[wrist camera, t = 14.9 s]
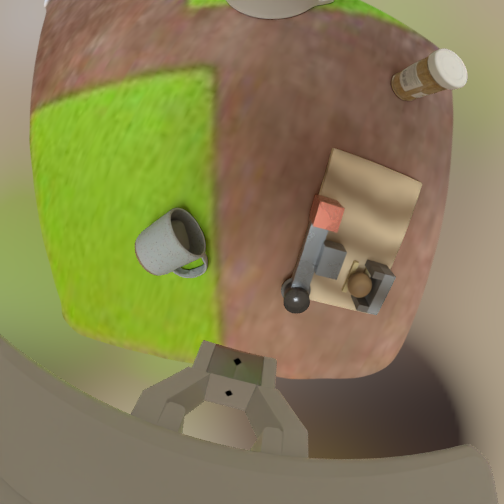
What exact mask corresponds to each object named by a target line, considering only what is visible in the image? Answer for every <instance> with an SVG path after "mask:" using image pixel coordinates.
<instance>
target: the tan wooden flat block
mask: <svg viewBox="0 0 504 504" xmlns="http://www.w3.org/2000/svg"><path fill="white" fill-rule="evenodd" d="M421 187H422V183H420V182H418V181H416V180H414V179H412V178H410V177H407V176H405V175H403V174H401V173H398V172H396V171H394V170H391V169H389V168H387V167H384V166H382V165H379V164H377V163H374V162H372V161H369V160H366V159H364V158H361V157H358V156H356V155H353V154H350V153H347V152H344V151H341V150H339V149H336V148H332V150H331V154H330V158H329V161H328V165H327V168H326V172H325V175H324V178H323V182H322V185H321V188H320V192H319V195H321V196H325V197H328V198H332V199H335V200H337V201H338V202H339V203H340V204H341V205H342V206H343V207H344V208H345V210H344V213H343V217H342V220H341V223H340V226H339V229H338V232H337V233H336V232H333V231H329V230H328V233H327V236H326V239H325V240H329V241H333V242H336V243H340V244H343V246H344V248H345V250H346V251H347V254H346V257H345V259H344V262H343V265H342V267H341V270H340V273H339V275H338V278H337V280H335V279H331V278H327V277H323V276H318V275H315V272H314V275H313V278H312V280H311V283H310V286H309V289H308V293H309V300H313V301H317V302H321V303H326V304H330V305H334V306H338V307H342V308H347V309H351V310H355V311H360V312H364V313H370V314H374V315H377V314H378V312H379V310H380V308H381V306H382V304H383V302H384V300H385V298H386V296H387V294H388V292H389V290H390V288H391V286H392V284H393V282H394V280H395V278H396V277H395V276H394V274H393V273H392V272H391V270H390V269H391V266H392V264H393V262H394V260H395V257H396V255H397V252H398V250H399V248H400V245H401V243H402V240H403V238H404V235H405V233H406V230H407V227H408V225H409V222H410V219H411V217H412V214H413V211H414V208H415V205H416V202H417V199H418V196H419V193H420V190H421ZM297 261H298V260H297ZM296 264H297V263H296ZM295 267H296V266H295ZM294 271H295V269H294ZM357 272H363V273H365V274H367V275H368V276H369V277H370V279H371V281H372V288H371V291H370V292H369V294H368V295H366V296H365V297H361V298H357V297H354V296H353V295H351V294H350V292H349V290H348V286H347V284H348V280H349V278H350V277H351V276H352V275H353V274H355V273H357ZM293 274H294V272H293ZM292 277H293V275H292ZM291 280H292V278H290V279H288V280H286V281H285V282H284V283H283V285H282V288H281V293H282V296H283V298H284V288H285V286H286V285H287V284H288V283H290V282H291Z"/></svg>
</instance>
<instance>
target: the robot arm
mask: <svg viewBox="0 0 504 504" xmlns="http://www.w3.org/2000/svg"><path fill="white" fill-rule="evenodd" d="M226 1H227V2H228V4H229V5H230V6H232V7H233V8H234V9H236V10H237V11H239V12H241V13H243V14H246V15H249V16H253V17H257V18H264V19H280V18H287V17H292V16H295V15H298V14H301V13H303V12H305V11H307V10H309V9H310V8H312V7H314V6H316V5H322V4H329V3H332V2H334V0H226ZM276 364H277V360H276V359H274V358H269V357H265V356H264V357H263V356H260V355H256V354H251V353H247V352H243V351H239V350H235V349H232V348H228V347H225V346H222V345H219V344H214V343H211V342H208V341H205V340H204V341H203V342H202V344H201V346H200V349H199V351H198V354H197V356H196V359H195V361H194V364H193V366H192V368H191V367H187V368H185V369H183V370H181V371H180V372H178V373H176V374H174V375H172V376H170V377H168V378H167V379H164V380H163V381H161V382H159V383H157V384H155V385H153V386H151V387H149V388H147V389H145V390H143V392H142V394H141V395H140V397H139V399H138V401H137V403H136V405H135V407H134V409H133V411H132V413H131V415H130V414H128V413H126V412H123V411H121V410H119V409H116V408H114V407H112V406H110V405H108V404H106V403H104V402H102V401H100V400H98V399H96V398H94V397H92V396H91V395H89V394H87V393H85V392H83V391H81V390H80V389H78V388H76V387H74V386H72V385H71V384H69V383H68V382H66V381H64V380H62V379H61V378H59V377H58V376H56V375H54V374H53V373H51V372H50V371H48V370H47V369H45V368H44V367H42V366H41V365H40V364H38V363H37V362H35V361H34V360H32V359H31V358H30V357H28V356H27V355H26V354H24V353H23V352H22V351H20V350H19V349H18V348H16V347H15V346H14V345H13V344H11V343H10V342H9V341H8V340H6V339H5V338H4V337H3V336H2V335H1V334H0V504H498V499H497V493H496V487H495V482H494V478H493V474H492V471H491V467H490V464H489V462H488V460H487V458H486V457H485V456H484V455H483V454H482V453H481V452H480V451H479V450H477V449H476V448H475V447H473V446H472V445H470V444H465V445H461V446H457V447H453V448H448V449H444V450H439V451H434V452H428V453H422V454H416V455H408V456H400V457H389V458H378V459H377V458H376V459H316V458H308V431H307V430H306V428H305V427H304V426H303V424H302V423H301V421H300V420H299V419H298V417H297V416H296V414H295V413H294V412H293V410H292V409H291V407H290V406H289V404H288V403H287V401H286V400H285V399H284V397H283V396H282V394H281V393H280V391H279V390H277V389H275V381H276ZM204 401H208V402H212V403H216V404H221V405H225V406H228V407H232V408H236V409H240V410H244V411H245V413H246V415H247V417H248V419H249V422H250V424H251V426H252V428H253V430H254V432H255V434H256V437H257V440H256V442H255V443H254V445H253V446H252V448H251V449H250V450H244V449H239V448H234V447H230V446H225V445H221V444H217V443H213V442H209V441H205V440H201V439H198V438H194V437H191V436H188V435H184V434H182V432H183V424H184V416H185V415H186V414H188V413H189V412H191V411H192V410H193V409H195V408H196V407H197V406H199V405H200V404H201V403H203V402H204Z"/></svg>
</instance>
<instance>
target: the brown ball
mask: <svg viewBox="0 0 504 504" xmlns="http://www.w3.org/2000/svg"><path fill="white" fill-rule="evenodd" d="M347 286H348V290H349V292H350V294H351V295H353V296H354V297H357V298H361V297H365V296H366V295H368V294H369V292H370V291H371V288H372V281H371V279H370V277H369V276H368V275H367V274H365V273H363V272H357V273H355V274H353V275H352V276H351V277H350V278H349V280H348V284H347Z"/></svg>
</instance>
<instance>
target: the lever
mask: <svg viewBox="0 0 504 504" xmlns="http://www.w3.org/2000/svg"><path fill="white" fill-rule="evenodd" d="M344 210H345V208H344V207H343V206H342V205H341V204H340V203H339V202H338V201H337V200H335V199H332V198H328V197H325V196H321V195H318V194H315V196H314V200H313V204H312V207H311V211H310V214H309V216H310V222H309V225H308V228H307V232H306V235H305V238H304V242H303V245H302V248H301V252H300V255H299V258H298V261H297V264H296V267H295V271H294V274H293V277H292V280H291V282H290V283H288V284H287V285H286V286H285V288H284V306H285V308H286V309H287V310H288V311H289V312H291V313H301V312H304V311H305V310H306V309H307V308H308V307H309V304H310V300H309V293H308V289H309V286H310V283H311V280H312V278H313V275H314V272H315V275H318V276H323V277H327V278H331V279H335V280H337V278H338V275H339V273H340V270H341V267H342V265H343V262H344V259H345V257H346V254H347V251H346V250H345V248H344V246H343V244H340V243H336V242H333V241H329V240H325V239H326V236H327V233H328V230H329V231H333V232H336V233H337V232H338V229H339V226H340V223H341V220H342V217H343V213H344Z"/></svg>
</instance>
